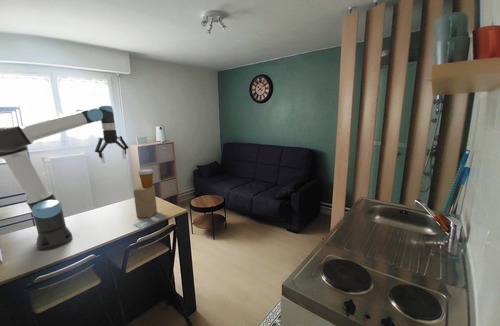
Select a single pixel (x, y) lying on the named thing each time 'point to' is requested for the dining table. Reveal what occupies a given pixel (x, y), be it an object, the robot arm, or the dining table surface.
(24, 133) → the robot arm
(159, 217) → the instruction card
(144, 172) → the disposable coffee cup
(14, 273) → the dining table surface
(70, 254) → the dining table surface
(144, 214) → the wooden block
